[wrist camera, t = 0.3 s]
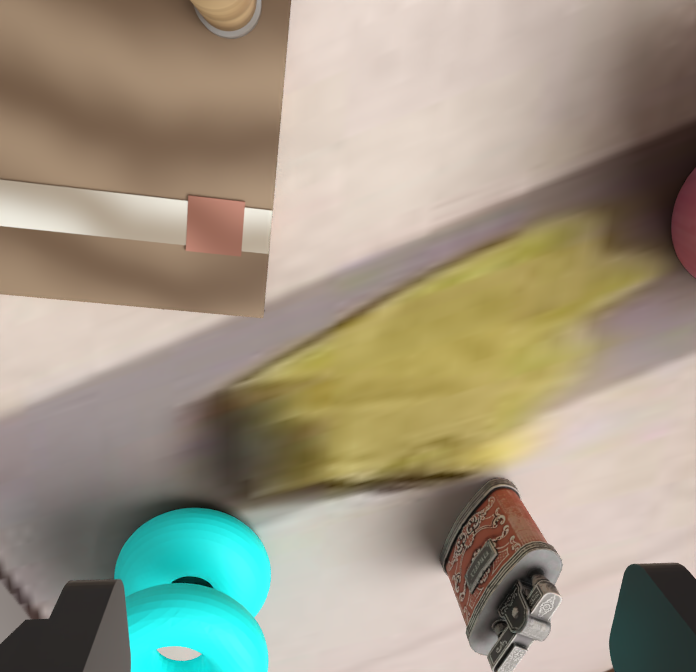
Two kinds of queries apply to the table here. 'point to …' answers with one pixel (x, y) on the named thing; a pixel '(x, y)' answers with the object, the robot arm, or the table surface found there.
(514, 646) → the lighter
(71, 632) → the robot arm
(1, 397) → the table surface
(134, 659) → the donuts
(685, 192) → the plant pot
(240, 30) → the tan rounded cylinder
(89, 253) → the subfloor panel
